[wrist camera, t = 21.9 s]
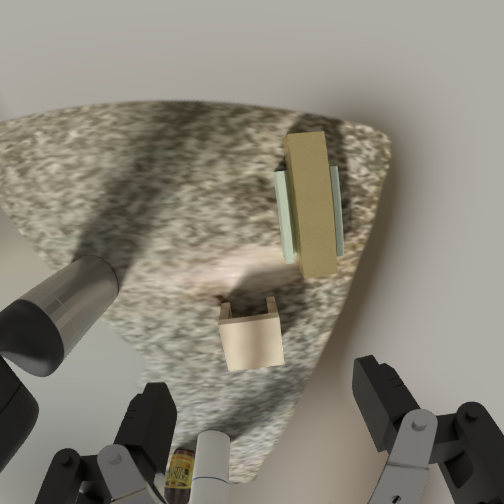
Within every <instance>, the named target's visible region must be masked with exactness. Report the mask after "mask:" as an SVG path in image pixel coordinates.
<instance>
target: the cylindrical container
mask: <svg viewBox="0 0 504 504" xmlns="http://www.w3.org/2000/svg"><path fill="white" fill-rule="evenodd" d="M229 460H230V438H229V436H228V435H226V434H225V433H223V432H220V431H214V430H209V431H204V432H201V433H200V434H199V435H198V440H197V447H196V455H195V462H194V470H193V478H192V486H191V494H190V503H189V504H228V501H229V498H228V497H229Z"/></svg>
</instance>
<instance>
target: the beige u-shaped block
mask: <svg viewBox="0 0 504 504" xmlns="http://www.w3.org/2000/svg"><path fill="white" fill-rule="evenodd" d="M266 302H267V309H268V314H262V315H255V316H247V317H239V318H233V317H232V312H231V306H230V302H226V303H221V310H220V316H219V323H218V327H219V331H220V335H221V340H222V344H223V348H224V353H225V357H226V361H227V365H228V369H229V371H235V370H244V369H253V368H261V367H269V366H276V365H282V364H284V357H283V347H282V338H281V328H280V319H279V314H278V310H277V306H276V301H275V297H274V296H271V297H266Z"/></svg>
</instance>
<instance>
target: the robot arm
mask: <svg viewBox="0 0 504 504" xmlns="http://www.w3.org/2000/svg"><path fill="white" fill-rule="evenodd" d="M117 293H118V283H117V278H116V276H115V273H114V272H113V270H112V268H111V267H110V266H109V265H108V264H107V263H106V262H105V261H104V260H103V259H101V258H99V257H97V256H93V255H86V256H83V257H81V258H79V259H77V260H76V261H74V262H73V263H71V264H69V265H68V266H66V267H64V268H63V269H61V270H60V271H58V272H57V273H55V274H54V275H52V276H50V277H49V278H47V279H46V280H45V281H43V282H42V283H40V284H38V285H37V286H36V287H34V288H33V289H31V290H30V291H28V292H27V293H26V294H24V295H23V296H21V297H20V298H19V299H17V300H16V301H14V302H13V303H11V304H10V305H9V306H7V307H6V308H5V309H4V310H2V311H1V312H0V472H2V470H3V469H4V468H5V466H6V465H7V464H8V462H9V461H10V460H11V458H12V457H13V456H14V455H15V453H16V452H17V451H18V449H19V448H20V447H21V445H22V444H23V443H24V441H25V440H26V439H27V437H28V435H29V434H30V433H31V431H32V429H33V427H34V425H35V423H36V421H37V418H38V414H39V407H38V403H37V401H36V400H35V398H34V397H33V396H32V394H31V393H30V392H29V391H28V389H27V388H26V387H25V386H24V384H23V383H22V382H21V381H20V380H19V378H18V377H17V376H16V374H15V373H14V372H13V371H12V369H11V368H10V367H9V365H8V364H7V363H6V361H5V360H4V359H3V357H5V358H7V359H9V360H10V361H12V362H13V363H14V364H16V365H17V366H19V367H20V368H22V369H23V370H24V371H26V372H28V373H30V374H32V375H35V376H39V377H46V376H49V375H50V374H52V373H53V372H54V371H55V370H56V369H57V368H58V367H59V365H60V364H61V363H62V362H63V360H64V359H65V358H66V357H67V355H68V354H69V353H70V352H71V350H72V349H73V348H74V347H75V346H76V344H77V343H78V342H79V341H80V340H81V338H82V337H83V336H84V335H85V334H86V332H87V331H88V330H89V329H90V328H91V326H92V325H93V324H94V323H95V322H96V321H97V320H98V319H99V317H100V316H101V315H102V314H103V313H104V312H105V311H106V310H107V308H108V307H109V306H110V305H111V304H112V303H113V301H114V300H115V298H116V296H117ZM2 356H3V357H2ZM352 390H353V395H354V397H355V400H356V402H357V405H358V407H359V409H360V411H361V414H362V416H363V418H364V420H365V423H366V425H367V427H368V429H369V432H370V434H371V437H372V439H373V441H374V444H375V446H376V448H377V451H378V452H382V451H384V450H387V452H388V454H389V457H388V459H387V462H386V464H385V466H384V469H383V471H382V473H381V476H380V478H379V480H378V482H377V485H376V487H375V489H374V491H373V493H372V495H371V497H370V499H369V501H368V503H367V504H418V503H419V501H420V498H421V495H422V492H423V489H424V486H425V483H426V480H427V477H428V473H429V469H427V466H428V464H434V463H438V465H439V467H440V470H441V472H442V474H443V476H444V479H445V481H446V483H447V486H448V488H449V490H450V493H451V495H452V498H453V500H454V503H455V504H504V435H503V434H502V432H501V430H500V429H499V427H498V426H497V424H496V423H495V422H494V420H493V419H492V417H491V416H490V414H489V413H488V412H487V410H486V409H485V408H484V406H482V405H481V404H480V403H477V402H467V403H464V404H462V405H461V406H460V407H459V408H458V410H457V412H456V413H453V414H447V415H440V416H435V415H434V414H433V413H432V412H430V411H428V410H425V409H421V408H420V407H419V405H418V404H417V402H416V401H415V399H414V398H413V396H412V395H411V393H410V392H409V390H408V389H407V387H406V386H405V385H404V383H403V381H402V380H401V379H400V378H399V375H398V374H397V372H396V371H395V369H394V368H392V367H390V366H389V365H387V364H386V363H383V364H380V365H379V364H378V362H377V361H376V359H375V357H374V356H373V355H369V356H365V357H361V358H357V359H355V360H354V369H353V380H352ZM176 420H177V409H176V406H175V403H174V401H173V399H172V397H171V394H170V392H169V390H168V387H167V385H166V384H165V383H164V382H157V383H147V384H146V386H145V389H144V391H143V394H137V395H136V396H135V397H134V398H133V399H132V400H131V402H130V404H129V406H128V409H127V412H126V413H125V416H124V419H123V421H122V423H121V426H120V428H119V431H118V433H117V436H116V438H115V441H114V443H113V444H112V445H108V446H106V447H104V448H103V449H102V450H101V451H100V452H99V454H98V455H90V456H80V455H79V454H78V453H77V451H75V450H73V449H70V448H65V449H62V450H60V451H58V452H57V453H56V454H55V456H54V458H53V460H52V462H51V464H50V467H49V469H48V472H47V474H46V477H45V479H44V481H43V484H42V486H41V489H40V491H39V494H38V497H37V499H36V502H35V504H75V503H76V504H110V503H111V504H168V502H167V501H166V499H165V498H164V496H163V495H162V493H161V492H160V490H159V489H158V487H157V486H156V484H155V483H154V478H155V475H156V476H165V471H166V466H167V461H168V457H169V452H170V447H171V443H172V438H173V434H174V429H175V425H176ZM78 493H79V494H78ZM77 496H78V498H77ZM111 499H113V500H112V501H111ZM76 500H77V501H76Z"/></svg>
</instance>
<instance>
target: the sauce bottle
mask: <svg viewBox="0 0 504 504" xmlns="http://www.w3.org/2000/svg"><path fill="white" fill-rule="evenodd" d="M194 462H195V454H194V453H193V452H190V451H187V450H177V451H175V452H174V454H173V456H172V458H171V462H170V466H169V471H168V475H167V479H166V483H165V491H164V497H165V499H166V501H167V502H168V504H187V503H188V502H189V500H190V494H191V486H192V478H193V470H194Z"/></svg>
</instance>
